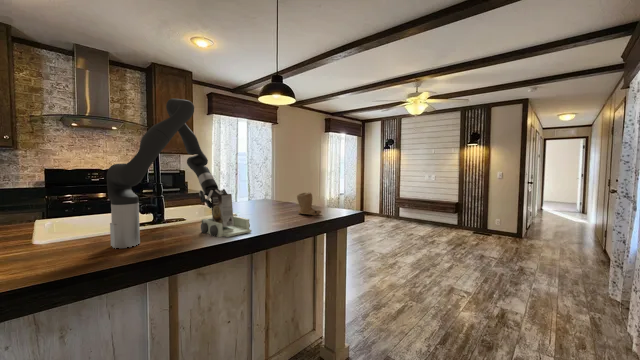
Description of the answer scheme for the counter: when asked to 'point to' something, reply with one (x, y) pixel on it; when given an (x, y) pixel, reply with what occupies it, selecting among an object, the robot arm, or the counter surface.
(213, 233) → the cart bed
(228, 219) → the coffee box
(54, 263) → the counter surface
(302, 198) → the brown boot
